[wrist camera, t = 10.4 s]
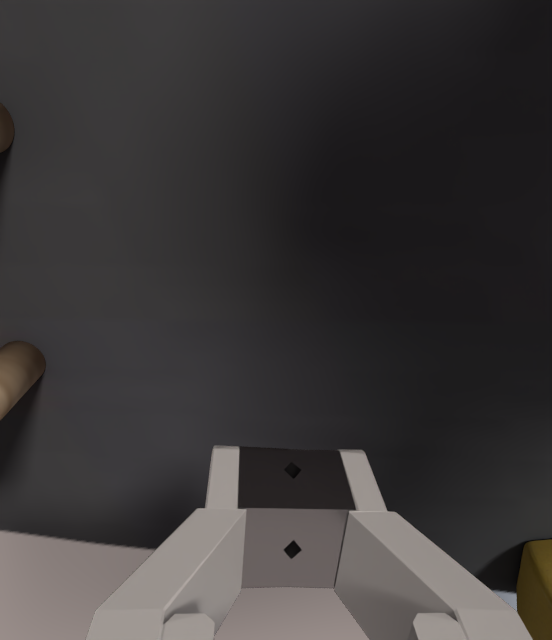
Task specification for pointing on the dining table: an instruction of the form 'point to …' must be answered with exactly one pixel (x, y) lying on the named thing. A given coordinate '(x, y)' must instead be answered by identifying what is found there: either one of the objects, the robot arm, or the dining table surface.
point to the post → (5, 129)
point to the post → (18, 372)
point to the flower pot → (536, 589)
